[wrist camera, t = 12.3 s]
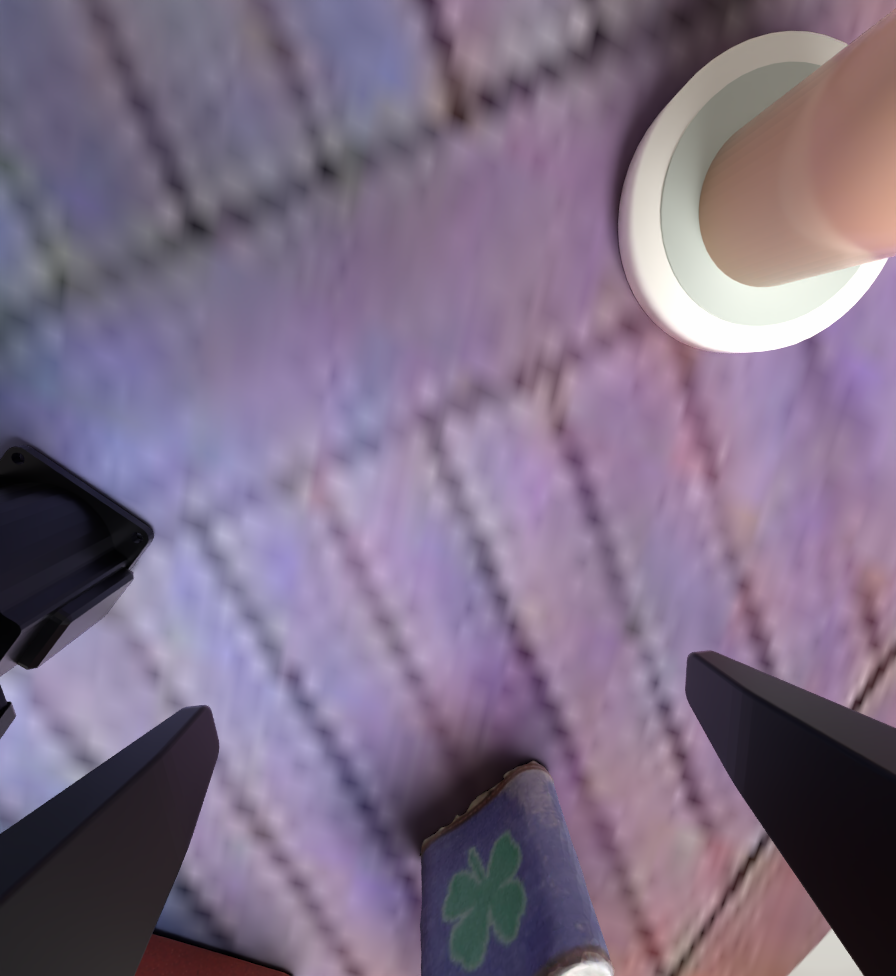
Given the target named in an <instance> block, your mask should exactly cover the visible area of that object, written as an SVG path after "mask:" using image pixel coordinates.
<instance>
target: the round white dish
mask: <svg viewBox="0 0 896 976" xmlns="http://www.w3.org/2000/svg"><path fill="white" fill-rule="evenodd" d="M846 46H848V45H847V44H846V43H844V42H842V41H839V40H837V39H834V38H832V37H829V36H827V35H822V34H817V33H813V32H807V31H784V32H776V33H769V34H766V35H762V36H759V37H755V38H752V39H749V40H747V41H745V42H742V43H740V44H738V45H736V46H734V47H732V48H730V49H728V50H727V51H725V52H724V53H722V54H720V55H719V56H717V57H716V58H714V59H713V60H711V61H710V62H709V63H708V64H707V65H705V66H704V67H703V68H702V69H701V70H699V71H698V72H697V73H696V74H695V75H694V76H693V77H692V78H691V79H690V80H689V81H688V83H687V84H686V85H685V86H684V87H683V88H682V89H681V90H680V91H679V92H678V93H677V94H676V95H675V97H674V98H673V99H672V100H671V101H670V102H669V103H668V104H667V105H666V106H665V108H664V109H663V110H662V111H661V112H660V113H659V114H658V116H657V117H656V118H655V120H654V121H653V122H652V124H651V125H650V127H649V128H648V129H647V131H646V133H645V134H644V136H643V138H642V140H641V141H640V143H639V145H638V147H637V149H636V151H635V153H634V156H633V158H632V160H631V163H630V165H629V168H628V171H627V174H626V178H625V181H624V184H623V188H622V194H621V199H620V205H619V217H618V237H619V248H620V254H621V260H622V265H623V268H624V271H625V275H626V278H627V281H628V283H629V285H630V287H631V290H632V292H633V294H634V296H635V298H636V299H637V301H638V303H639V304H640V306H641V307H642V309H643V310H644V312H645V313H646V314H647V315H648V316H649V318H650V319H651V320H652V321H653V322H654V323H655V324H656V325H657V326H658V327H659V328H660V329H662V330H663V331H664V332H665V333H667V334H668V335H670V336H671V337H673V338H674V339H676V340H677V341H679V342H681V343H683V344H686V345H688V346H690V347H693V348H696V349H700V350H703V351H707V352H714V353H747V352H760V351H767V350H774V349H779V348H783V347H786V346H790V345H793V344H796V343H798V342H800V341H803V340H805V339H807V338H810V337H812V336H813V335H815V334H817V333H819V332H820V331H822V330H824V329H825V328H827V327H828V326H830V325H831V324H832V323H834V322H835V321H836V320H838V319H839V318H840V317H842V316H843V315H844V314H845V313H846V312H847V311H848V310H849V309H850V308H851V307H852V306H854V305H855V304H856V303H857V301H858V300H859V299H860V298H861V297H862V296H863V295H864V293H865V292H866V291H867V290H868V289H869V287H870V286H871V285H872V283H873V282H874V280H875V279H876V277H877V276H878V275H879V273H880V272H881V270H882V268H883V266H884V265H885V263H886V261H887V259H888V258H885V259H881V260H877V261H873V262H869V263H865V264H861V265H857V266H853V267H849V268H846V269H842V270H838V271H834V272H830V273H826V274H822V275H818V276H814V277H810V278H806V279H802V280H798V281H794V282H790V283H786V284H783V285H779V286H773V287H753V286H748V285H744V284H741V283H739V282H737V281H735V280H733V279H731V278H730V277H728V276H727V275H725V274H724V273H723V272H722V271H721V270H720V269H719V268H718V267H717V266H716V265H715V263H714V262H713V261H712V259H711V258H710V256H709V254H708V252H707V250H706V248H705V245H704V243H703V240H702V236H701V232H700V225H699V201H700V194H701V190H702V185H703V182H704V179H705V176H706V173H707V171H708V169H709V167H710V165H711V163H712V161H713V159H714V158H715V156H716V154H717V153H718V151H719V150H720V149H721V147H722V146H723V145H724V143H725V142H726V141H727V140H728V139H729V138H730V137H731V136H732V135H733V134H734V133H735V132H736V131H738V130H739V129H740V128H741V127H743V126H744V125H745V124H747V123H748V122H749V121H750V120H752V119H753V118H754V117H756V116H757V115H758V114H759V113H761V112H762V111H763V110H765V109H766V108H767V107H769V106H770V105H771V104H772V103H774V102H775V101H776V100H778V99H779V98H780V97H782V96H783V95H784V94H785V93H787V92H788V91H789V90H791V89H792V88H793V87H794V86H796V85H797V84H798V83H800V82H801V81H802V80H804V79H805V78H806V77H807V76H809V75H810V74H811V73H813V72H814V71H815V70H816V69H818V68H819V67H820V66H822V65H823V64H824V63H826V62H827V61H828V60H829V59H831V58H832V57H833V56H835V55H836V54H837V53H838V52H840V51H841V50H842V49H844V48H845V47H846Z"/></svg>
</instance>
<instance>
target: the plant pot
mask: <svg viewBox="0 0 896 976" xmlns="http://www.w3.org/2000/svg"><path fill="white" fill-rule="evenodd" d="M135 976H289V975H288V974H286V973H284V972H280V971H277V970H273V969H270V968H266V967H263V966H260V965H257V964H253V963H250V962H247V961H243V960H240V959H237V958H233V957H230V956H227V955H223V954H220V953H216V952H213V951H210V950H206V949H203V948H199V947H196V946H193V945H189V944H186V943H182V942H179V941H175V940H172V939H169V938H165V937H162V936H158V935H155V934H152V936H151V938H150V940H149V943H148V945H147V947H146V950H145V952H144V954H143V957H142V959H141V962H140V964H139V966H138V969H137V971H136V973H135Z"/></svg>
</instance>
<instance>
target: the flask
mask: <svg viewBox="0 0 896 976" xmlns="http://www.w3.org/2000/svg"><path fill="white" fill-rule="evenodd" d="M503 777H504V780H502V781H501V782H500V783H498V784H497V785H496V786H494V788H490V790H489V791H485V792H484V793H483V794H482V795H480V796H477V798H476V799H475V800H474V801H472V803H471V805H470V807H469V809H468V810H467V813H465V814H464V815H462V816H459V815H456V817H455V818H454V820H453V822H452V823H451V824H450V825H448V826H445V827H440V830H438V832H436V834H433V835H432V836H430V837H429V838H426V839H425V840H424V841H423V844H422V849H421V854H420V855H421V865H422V870H421V875H422V911H421V922H420V931H421V951H422V954H421V976H614V967H613V966H612V963H611V960H610V957H609V953H608V950H607V947H606V944H605V941H604V938H603V935H602V932H601V929H600V926H599V923H598V920H597V917H596V914H595V911H594V908H593V905H592V902H591V900H590V897H589V893H588V890H587V887H586V883H585V880H584V877H583V873H582V870H581V867H580V864H579V861H578V857H577V855H576V852H575V849H574V847H573V844H572V841H571V838H570V835H569V831H568V828H567V825H566V822H565V819H564V816H563V813H562V810H561V807H560V804H559V801H558V797H557V794H556V790H555V787H554V782H553V779H552V777H551V775H550V774H549V773H548V771H547V770H546V768H545V767H544V766H541V765H540V764H538V763H537V762H535V761H531V762H529V763H528V764H525V765H523V766H518V767H516V768H514V769H513V770H511V771H509V772H507V773H506V774H504V776H503Z"/></svg>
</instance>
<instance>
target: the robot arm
mask: <svg viewBox="0 0 896 976" xmlns="http://www.w3.org/2000/svg"><path fill="white" fill-rule="evenodd" d="M20 454H22V455H23V456H24V459H25V460H24V462H23V461H22V460H21V459H20ZM137 532H138V533H140V534H141V535H142V537H143V540H140V539H139V538H138V537H137V536H136V533H137ZM153 538H154V533H153V531H152V529H150V528H149V527H148V526H147V525H145V524H144V523H142V522H141V521H140V520H138V519H137V518H135V517H134V516H132V515H131V514H129V513H128V512H126V511H125V510H123V509H122V508H120V507H119V506H117V505H116V504H114V503H113V502H111V501H110V500H108V499H107V498H105V497H104V496H103V495H101V494H100V493H98V492H97V491H95V490H94V489H92V488H91V487H89V486H88V485H86V484H85V483H83V482H82V481H80V480H79V479H77V478H76V477H74V476H73V475H71V474H70V473H69V472H67V471H66V470H64V469H63V468H61V467H60V466H58V465H57V464H55V463H54V462H52V461H51V460H49V459H48V458H46V457H45V456H43V455H42V454H40V453H39V452H37V451H36V450H34V449H33V448H31V447H29V446H25V445H21V446H15V447H11V448H9V449H8V450H7V451H6V452H5V454H4V455H3V457H2V458H1V460H0V676H2V675H3V674H5V673H6V672H7V671H9V670H10V669H12V668H13V667H14V666H16V665H17V664H18V665H20V666H22V667H23V668H25V669H27V670H29V669H34V668H38V667H39V666H41V665H42V664H43V663H45V662H46V661H47V660H48V659H50V658H51V657H52V656H54V655H55V654H56V653H58V652H59V651H60V650H62V649H63V648H64V647H65V646H67V645H68V644H69V643H71V642H72V641H73V640H75V639H76V638H77V637H79V636H80V635H81V634H82V633H84V632H85V631H86V630H88V629H89V628H90V627H92V626H93V625H94V624H96V623H97V622H98V621H99V620H101V619H102V618H103V617H105V616H106V614H107V613H108V612H109V610H110V609H111V608H112V607H113V605H114V604H115V603H116V601H117V600H118V599H119V597H120V596H121V595H122V593H123V592H124V591H125V590H126V588H127V587H128V586H129V584H130V583H131V582H132V580H133V579H134V577H133V572H132V571H130V570H131V568H132V567H133V566H134V564H135V563H136V562H137V561H138V559H139V558H140V557H141V555H142V554H143V553H144V551H145V550H146V549H147V547H148V546H149V545H150V543H151V542H152V540H153ZM685 691H686V697H687V700H688V702H689V704H690V706H691V708H692V710H693V712H694V713H695V715H696V717H697V719H698V721H699V722H700V724H701V726H702V728H703V730H704V731H705V733H706V735H707V737H708V739H709V740H710V742H711V744H712V746H713V748H714V749H715V751H716V753H717V755H718V757H719V758H720V760H721V762H722V764H723V766H724V768H725V769H726V771H727V773H728V774H729V776H730V778H731V779H732V781H733V783H734V784H735V786H736V787H737V789H738V791H739V792H740V794H741V795H742V797H743V798H744V800H745V801H746V803H747V804H748V806H749V807H750V809H751V810H752V811H753V813H754V814H755V816H756V817H757V819H758V820H759V822H760V823H761V825H762V826H763V828H764V829H765V831H766V832H767V834H768V835H769V837H770V838H771V839H772V841H773V842H774V844H775V845H776V847H777V848H778V850H779V851H780V853H781V854H782V856H783V857H784V859H785V860H786V862H787V863H788V865H789V866H790V867H791V869H792V870H793V872H794V873H795V875H796V876H797V878H798V879H799V881H800V882H801V884H802V885H803V887H804V888H805V890H806V891H807V893H808V894H809V896H810V897H811V898H812V900H813V901H814V903H815V904H816V906H817V907H818V909H819V910H820V912H821V913H822V915H823V916H824V918H825V919H826V921H827V922H828V924H829V925H830V926H831V928H832V929H833V931H834V932H835V934H836V935H837V937H838V938H839V940H840V941H841V943H842V944H843V946H844V947H845V949H846V950H847V951H848V953H849V954H850V956H851V957H852V959H853V960H854V962H855V963H856V965H857V966H858V967H859V969H860V970H861V972H862V974H863V975H864V976H896V728H894V727H892V726H889V725H887V724H885V723H882V722H880V721H877V720H875V719H873V718H870V717H868V716H866V715H863V714H861V713H858V712H856V711H854V710H851V709H849V708H847V707H844V706H842V705H840V704H837V703H835V702H832V701H830V700H828V699H825V698H823V697H821V696H818V695H816V694H813V693H811V692H809V691H806V690H804V689H802V688H799V687H797V686H795V685H792V684H790V683H787V682H785V681H783V680H780V679H778V678H776V677H773V676H771V675H769V674H766V673H764V672H761V671H759V670H757V669H754V668H752V667H750V666H747V665H745V664H743V663H740V662H738V661H735V660H733V659H731V658H728V657H726V656H724V655H721V654H719V653H717V652H714V651H699V652H692V653H690V654H689V655H688V658H687V668H686V685H685ZM15 717H16V714H15V711H14V708H13V706H12V703H11V702H7V701H6V699H5V696H4V693H3V691H2V688H1V685H0V739H1V737H2V736H3V734H4V733H5V732H6V730H7V729H8V727H9V726H10V724H11V723H12V721H13V720H14V719H15ZM218 753H219V739H218V735H217V731H216V727H215V723H214V719H213V714H212V711H211V709H210V707H209V706H207V705H199V706H190V707H185V708H182V709H181V710H179V711H178V712H176V713H175V714H174V715H172V716H171V717H169V718H168V719H166V720H165V721H163V722H162V723H161V724H159V725H158V726H156V727H155V728H153V729H152V730H150V731H149V732H148V733H146V734H145V735H143V736H142V737H140V738H139V739H137V740H136V741H134V742H133V743H132V744H130V745H129V746H127V747H126V748H124V749H123V750H121V751H120V752H119V753H117V754H116V755H114V756H113V757H111V758H110V759H108V760H107V761H105V762H104V763H103V764H101V765H100V766H98V767H97V768H95V769H94V770H92V771H91V772H90V773H88V774H87V775H85V776H84V777H82V778H81V779H79V780H78V781H76V782H75V783H74V784H72V785H71V786H69V787H68V788H66V789H65V790H63V791H62V792H61V793H59V794H58V795H56V796H55V797H53V798H52V799H50V800H49V801H48V802H46V803H45V804H43V805H42V806H40V807H39V808H37V809H36V810H34V811H33V812H32V813H30V814H29V815H27V816H26V817H24V818H23V819H21V820H20V821H19V822H17V823H16V824H14V825H13V826H11V827H10V828H8V829H7V830H5V831H4V832H3V833H1V834H0V976H135V973H136V971H137V969H138V966H139V964H140V962H141V959H142V957H143V954H144V952H145V950H146V947H147V945H148V943H149V940H150V938H151V936H152V933H153V931H154V929H155V926H156V924H157V921H158V919H159V917H160V914H161V912H162V910H163V907H164V905H165V903H166V900H167V898H168V895H169V893H170V891H171V888H172V886H173V884H174V881H175V879H176V877H177V874H178V872H179V869H180V867H181V865H182V862H183V860H184V857H185V855H186V852H187V850H188V847H189V844H190V841H191V838H192V835H193V833H194V829H195V826H196V823H197V820H198V817H199V814H200V811H201V808H202V804H203V801H204V798H205V795H206V792H207V789H208V786H209V783H210V780H211V776H212V773H213V770H214V767H215V764H216V761H217V758H218Z"/></svg>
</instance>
